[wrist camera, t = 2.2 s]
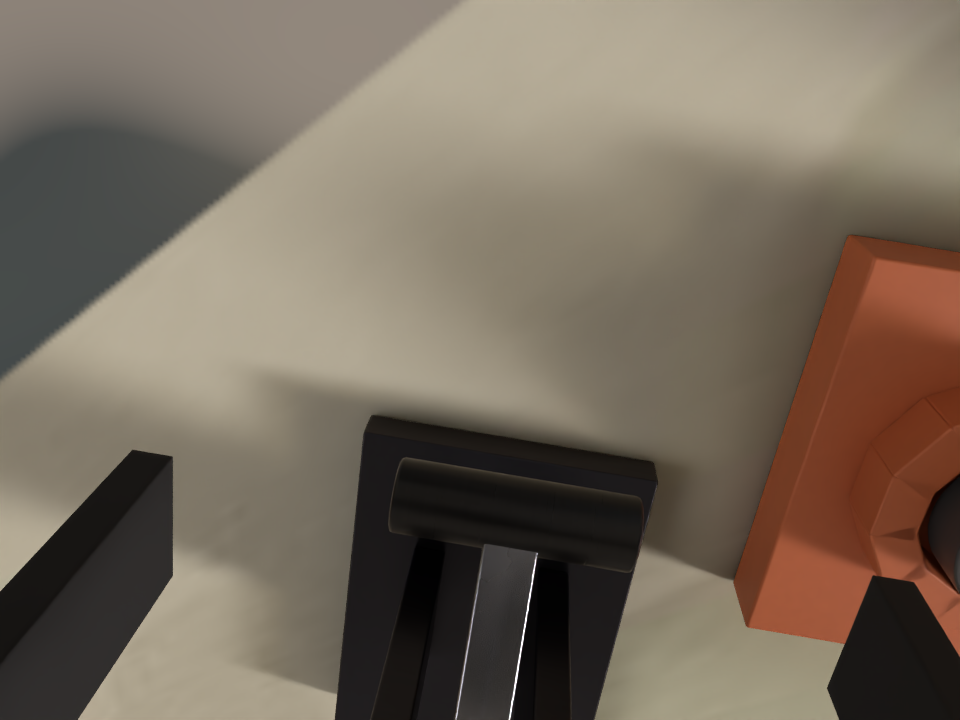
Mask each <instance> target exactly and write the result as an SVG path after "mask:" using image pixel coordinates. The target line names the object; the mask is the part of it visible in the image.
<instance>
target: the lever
mask: <svg viewBox="0 0 960 720" xmlns="http://www.w3.org/2000/svg"><path fill="white" fill-rule="evenodd" d="M643 524H644V510H643V504H642V500H641V499H640V498H639V497H637V496H633V495H627V494H621V493H615V492H609V491H603V490H597V489H591V488H585V487H579V486H574V485H568V484H562V483H556V482H550V481H544V480H538V479H532V478H526V477H520V476H514V475H508V474H503V473H497V472H491V471H485V470H479V469H473V468H467V467H461V466H455V465H449V464H443V463H437V462H431V461H426V460H420V459H414V458H408V457H406V458H403V459H402V460H401V462H400V464H399V467H398V470H397V474H396V478H395V482H394V487H393V492H392V498H391V504H390V511H389V522H388V526H389V531H390V532H392V533H396V534H402V535H408V536H414V537H419V538H425V539H431V540H437V541H443V542H449V543H455V544H460V545H466V546H472V547H478V548H482V551H481V557H480V563H479V569H478V575H477V581H476V587H475V593H474V599H473V605H472V611H471V617H470V624H469V630H468V636H467V642H466V648H465V654H464V660H463V666H462V672H461V678H460V684H459V690H458V696H457V702H456V708H455V714H454V720H510V719H511V713H512V707H513V701H514V695H515V689H516V683H517V677H518V671H519V665H520V659H521V653H522V647H523V641H524V634H525V628H526V622H527V616H528V610H529V604H530V598H531V592H532V586H533V580H534V574H535V568H536V562H537V558H543V559H548V560H554V561H560V562H566V563H572V564H578V565H584V566H589V567H595V568H601V569H607V570H613V571H619V572H625V573H628V572H631V571H632V570H633V568H634V566H635V564H636V562H637V559H638V556H639V552H640V547H641V542H642V535H643Z"/></svg>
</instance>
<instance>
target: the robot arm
mask: <svg viewBox="0 0 960 720" xmlns="http://www.w3.org/2000/svg"><path fill="white" fill-rule="evenodd" d="M172 576H173V457H172V456H166V455H160V454H154V453H148V452H142V451H137V450H132V451H131V452H130V453H129V454H128V455H127V456H126V457H125V458H124V459H123V461H122V462H121V463H120V464H119V465H118V466H117V467H116V468H115V469H114V470H113V471H112V472H111V473H110V474H109V476H108V477H107V478H106V479H105V480H104V481H103V482H102V483H101V484H100V485H99V486H98V487H97V488H96V489H95V491H94V492H93V493H92V494H91V495H90V496H89V497H88V498H87V499H86V500H85V501H84V502H83V503H82V504H81V506H80V507H79V508H78V509H77V510H76V511H75V512H74V513H73V514H72V515H71V516H70V517H69V518H68V519H67V521H66V522H65V523H64V524H63V525H62V526H61V527H60V528H59V529H58V530H57V531H56V532H55V533H54V535H53V536H52V537H51V538H50V539H49V540H48V541H47V542H46V543H45V544H44V545H43V546H42V547H41V548H40V550H39V551H38V552H37V553H36V554H35V555H34V556H33V557H32V558H31V559H30V560H29V561H28V562H27V563H26V565H25V566H24V567H23V568H22V569H21V570H20V571H19V572H18V573H17V574H16V575H15V576H14V577H13V578H12V580H11V581H10V582H9V583H8V584H7V585H6V586H5V587H4V588H3V589H2V590H1V591H0V720H78V718H79V717H80V715H81V714H82V712H83V711H84V709H85V708H86V706H87V705H88V703H89V702H90V700H91V699H92V697H93V696H94V694H95V693H96V691H97V689H98V688H99V686H100V685H101V683H102V682H103V680H104V679H105V677H106V676H107V674H108V673H109V671H110V670H111V668H112V667H113V665H114V664H115V662H116V661H117V659H118V658H119V656H120V655H121V653H122V652H123V650H124V649H125V647H126V646H127V644H128V643H129V641H130V640H131V638H132V637H133V635H134V633H135V632H136V630H137V629H138V627H139V626H140V624H141V623H142V621H143V620H144V618H145V617H146V615H147V614H148V612H149V611H150V609H151V608H152V606H153V605H154V603H155V602H156V600H157V599H158V597H159V596H160V594H161V593H162V591H163V590H164V588H165V587H166V585H167V584H168V582H169V581H170V579H171V578H172ZM827 689H828V692H829V694H830V697H831V700H832V702H833V705H834V707H835V710H836V712H837V715H838V717H839V720H960V656H959V655H958V653H957V651H956V650H955V648H954V646H953V645H952V643H951V641H950V640H949V638H948V636H947V635H946V633H945V632H944V630H943V628H942V627H941V625H940V623H939V622H938V620H937V618H936V617H935V615H934V614H933V612H932V610H931V609H930V607H929V605H928V604H927V602H926V600H925V599H924V597H923V596H922V594H921V592H920V591H919V589H918V587H917V586H916V584H915V582H911V581H905V580H899V579H893V578H887V577H881V576H875V575H873V576H872V578H871V581H870V583H869V586H868V588H867V591H866V593H865V596H864V598H863V601H862V603H861V605H860V608H859V610H858V613H857V615H856V618H855V620H854V623H853V625H852V628H851V630H850V633H849V635H848V638H847V640H846V643H845V645H844V647H843V650H842V652H841V655H840V657H839V660H838V662H837V665H836V667H835V670H834V672H833V675H832V677H831V680H830V682H829V684H828V687H827Z"/></svg>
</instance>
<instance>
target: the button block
mask: <svg viewBox="0 0 960 720" xmlns="http://www.w3.org/2000/svg"><path fill="white" fill-rule="evenodd" d="M958 477H960V252H954V251H948V250H942V249H936V248H929V247H923V246H917V245H911V244H905V243H899V242H892V241H886V240H880V239H874V238H868V237H862V236H855V235H849V236H848V237H847V240H846V243H845V246H844V249H843V252H842V255H841V258H840V261H839V264H838V267H837V270H836V273H835V276H834V279H833V282H832V285H831V288H830V291H829V294H828V297H827V300H826V303H825V306H824V309H823V312H822V315H821V318H820V321H819V324H818V327H817V330H816V334H815V337H814V340H813V343H812V346H811V349H810V352H809V355H808V358H807V361H806V364H805V367H804V370H803V373H802V376H801V379H800V382H799V385H798V388H797V391H796V394H795V397H794V400H793V403H792V406H791V409H790V412H789V415H788V418H787V421H786V424H785V427H784V430H783V434H782V437H781V440H780V443H779V446H778V449H777V452H776V455H775V458H774V461H773V464H772V467H771V470H770V473H769V476H768V479H767V482H766V485H765V488H764V491H763V494H762V497H761V500H760V503H759V506H758V509H757V512H756V515H755V518H754V521H753V524H752V527H751V530H750V534H749V537H748V540H747V543H746V546H745V549H744V552H743V555H742V558H741V561H740V564H739V567H738V570H737V573H736V576H735V579H734V582H733V583H734V587H735V590H736V593H737V597H738V600H739V604H740V607H741V610H742V614H743V617H744V621H745V624H746V626H747V627H749V628H755V629H761V630H767V631H773V632H778V633H784V634H790V635H796V636H802V637H808V638H813V639H819V640H825V641H831V642H837V643H843V644H845V643H846V640H847V638H848V635H849V633H850V630H851V628H852V625H853V623H854V620H855V618H856V615H857V613H858V610H859V608H860V605H861V603H862V601H863V598H864V596H865V593H866V591H867V588H868V586H869V583H870V581H871V578H872V576H873V575H875V576H881V577H887V578H893V579H899V580H905V581H911V582H915V584H916V586H917V587H918V589H919V591H920V592H921V594H922V596H923V597H924V599H925V600H926V602H927V604H928V605H929V607H930V609H931V610H932V612H933V614H934V615H935V617H936V618H937V620H938V622H939V623H940V625H941V627H942V628H943V630H944V632H945V633H946V635H947V636H948V638H949V640H950V641H951V643H952V645H953V646H954V648H955V650H956V651H957V653H958V655H959V656H960V594H959V593H958V591H957V590H956V588H955V587H954V585H953V584H952V582H951V581H950V579H949V577H948V576H947V574H946V573H945V571H944V570H943V568H942V567H941V565H940V564H939V562H938V561H937V559H936V558H935V556H934V554H933V552H932V550H931V547H930V544H929V540H928V523H929V518H930V515H931V512H932V509H933V507H934V505H935V503H936V501H937V500H938V498H939V497H940V495H941V494H942V493H943V492H944V490H945V489H946V488H947V487H948V486H949V485H950V484H951V483H952V482H953V481H955V480H956V479H957V478H958Z"/></svg>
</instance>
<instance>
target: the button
mask: <svg viewBox="0 0 960 720" xmlns="http://www.w3.org/2000/svg"><path fill="white" fill-rule="evenodd" d="M928 540H929V544H930V547H931V550H932V552H933V554H934V556H935V558H936V559H937V561H938V562H939V564H940V565H941V567H942V568H943V570H944V571H945V573H946V574H947V576H948V577H949V579H950V581H951V582H952V584H953V585H954V587H955V588H956V590H957V591H958V593H959V594H960V477H958V478H957V479H956V480H955V481H953V482H952V483H951V484H950V485H949V486H948V487H947V488H946V489H945V490H944V492H943V493H942V494H941V495H940V497H939V498H938V500H937V501H936V503H935V505H934V507H933V509H932V512H931V515H930V518H929V523H928Z"/></svg>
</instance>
